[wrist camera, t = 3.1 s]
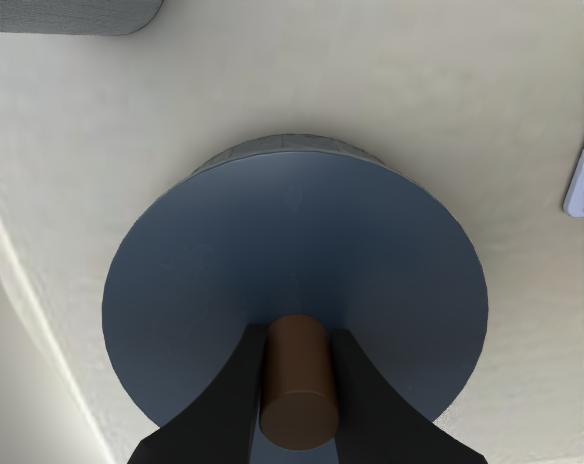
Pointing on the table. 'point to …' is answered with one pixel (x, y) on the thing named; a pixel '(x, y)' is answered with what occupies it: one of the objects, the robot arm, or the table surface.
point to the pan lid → (294, 292)
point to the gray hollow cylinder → (76, 16)
